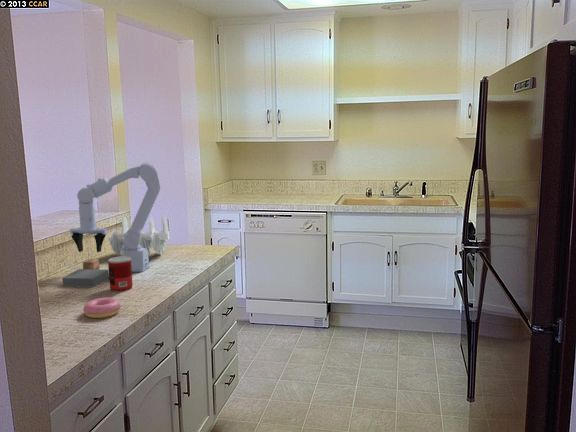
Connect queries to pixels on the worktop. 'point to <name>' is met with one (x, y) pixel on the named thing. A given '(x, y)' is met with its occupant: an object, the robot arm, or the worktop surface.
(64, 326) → the worktop surface
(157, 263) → the worktop surface
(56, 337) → the worktop surface
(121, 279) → the canned food
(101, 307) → the doughnut
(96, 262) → the terracotta block
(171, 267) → the worktop surface
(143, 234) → the white irregular piece
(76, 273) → the charcoal stand
